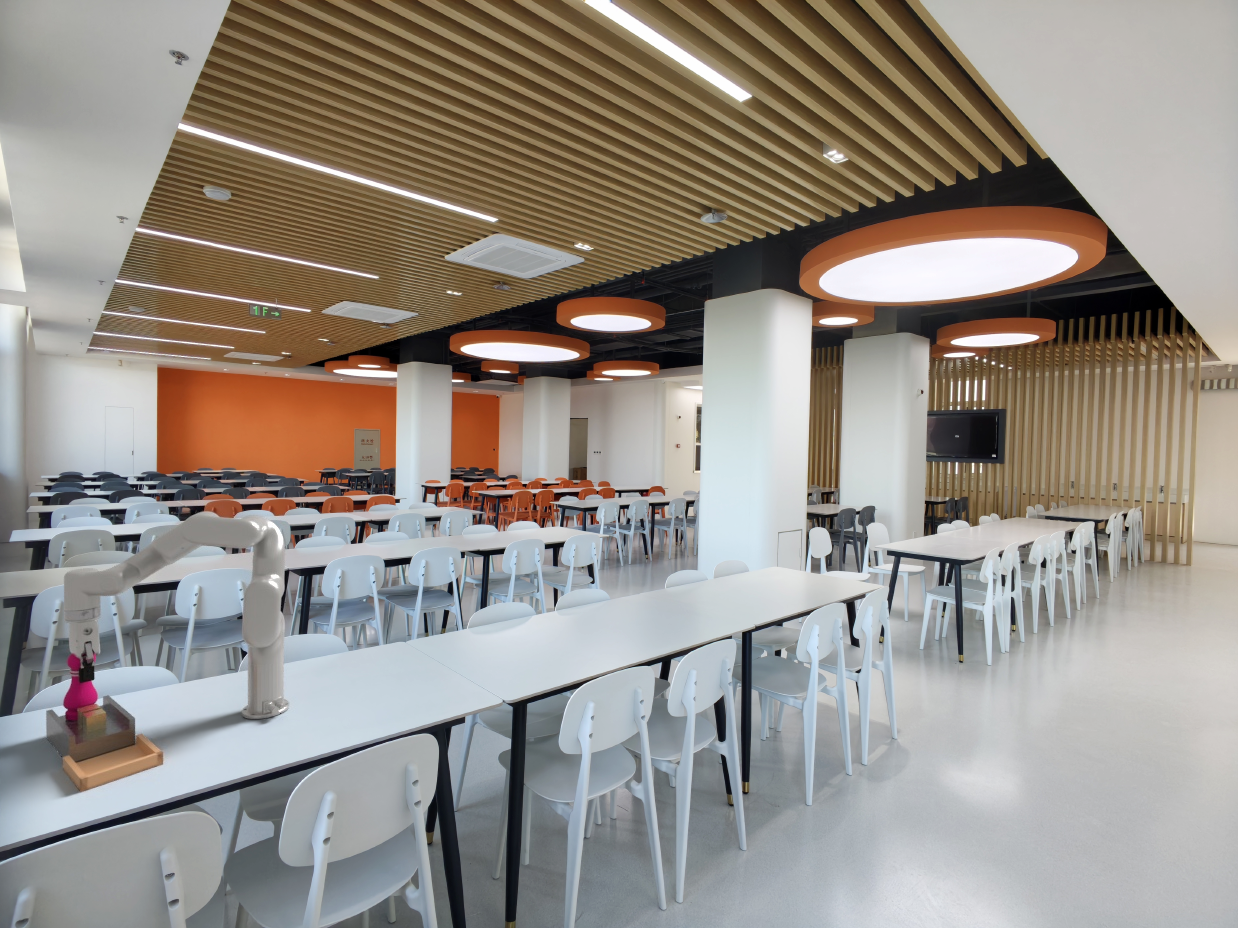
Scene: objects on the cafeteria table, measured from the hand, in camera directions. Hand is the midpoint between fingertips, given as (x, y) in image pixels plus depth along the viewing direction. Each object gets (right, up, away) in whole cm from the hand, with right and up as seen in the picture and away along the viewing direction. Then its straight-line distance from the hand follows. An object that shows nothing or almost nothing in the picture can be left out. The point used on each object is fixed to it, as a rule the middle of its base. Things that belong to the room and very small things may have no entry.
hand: (83, 677), depth 169 cm
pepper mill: (-1, -11, 0) cm, 11 cm away
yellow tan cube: (+4, -11, -3) cm, 12 cm away
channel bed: (+5, -16, -4) cm, 17 cm away
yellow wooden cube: (+8, -11, -6) cm, 15 cm away
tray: (+22, -17, -16) cm, 32 cm away
